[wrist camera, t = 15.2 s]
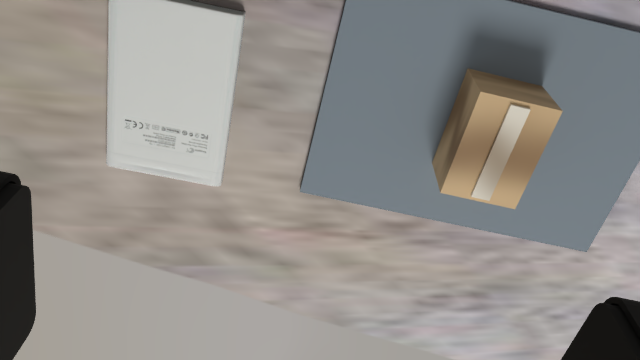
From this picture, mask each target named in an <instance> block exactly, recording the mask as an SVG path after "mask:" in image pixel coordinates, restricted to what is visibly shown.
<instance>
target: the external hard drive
mask: <svg viewBox="0 0 640 360" xmlns="http://www.w3.org/2000/svg"><path fill="white" fill-rule="evenodd" d="M244 20H245V12H242V11H237V10H232V9H228V8H223V7H218V6H213V5H209V4H204V3H199V2H195V1H190V0H109V4H108V85H107V162H106V163H107V165H108V166H110V167H114V168H119V169H125V170H130V171H136V172H141V173H147V174H152V175H157V176H163V177H168V178H173V179H178V180H184V181H189V182H194V183H199V184H204V185H209V186H221V183H222V181H223V174H224V166H225V160H226V153H227V145H228V138H229V131H230V124H231V117H232V110H233V102H234V95H235V87H236V80H237V73H238V65H239V58H240V50H241V43H242V36H243V28H244Z"/></svg>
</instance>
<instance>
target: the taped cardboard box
mask: <svg viewBox="0 0 640 360" xmlns="http://www.w3.org/2000/svg"><path fill="white" fill-rule="evenodd" d="M562 112H563V111H562V109H561V108H560V107H559V106H558V105H557V103H556V102H555V101H554V100H553V99H552V97H551V96H550V95H549V94H548V93H547V91H546V90H545V89H544V88H543V86H540V85H535V84H531V83H527V82H523V81H519V80H515V79H510V78H506V77H502V76H498V75H494V74H490V73H485V72H481V71H477V70H473V69H469V68H468V69H467V71H466V74H465V77H464V79H463V82H462V85H461V87H460V90H459V93H458V95H457V98H456V100H455V103H454V106H453V108H452V111H451V114H450V116H449V119H448V122H447V124H446V127H445V130H444V132H443V135H442V138H441V140H440V143H439V145H438V148H437V151H436V153H435V156H434V159H433V161H432V165H433V168H434V172H435V175H436V179H437V183H438V186H439V190H440V193H443V194H448V195H452V196H457V197H461V198H466V199H470V200H475V201H480V202H484V203H489V204H493V205H498V206H502V207H507V208H511V209H515V208H516V206H517V204H518V202H519V200H520V198H521V196H522V194H523V192H524V190H525V188H526V186H527V184H528V182H529V180H530V178H531V176H532V174H533V171H534V169H535V167H536V165H537V163H538V161H539V159H540V157H541V155H542V153H543V151H544V149H545V147H546V145H547V143H548V141H549V139H550V137H551V134H552V132H553V130H554V128H555V126H556V124H557V122H558V120H559V118H560V116H561V114H562Z"/></svg>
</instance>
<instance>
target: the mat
mask: <svg viewBox="0 0 640 360" xmlns="http://www.w3.org/2000/svg"><path fill="white" fill-rule="evenodd" d="M468 68H469V69H473V70H477V71H481V72H485V73H490V74H494V75H498V76H502V77H506V78H510V79H515V80H519V81H523V82H527V83H531V84H535V85H540V86H543V88H544V89H545V90H546V91H547V93H548V94H549V95H550V96H551V97H552V99H553V100H554V101H555V102H556V103H557V105H558V106H559V107H560V108H561V109H562V111H563V112H562V114H561V116H560V118H559V120H558V122H557V124H556V126H555V128H554V130H553V132H552V134H551V137H550V139H549V141H548V143H547V145H546V147H545V149H544V151H543V153H542V155H541V157H540V159H539V161H538V163H537V165H536V167H535V169H534V171H533V174H532V176H531V178H530V180H529V182H528V184H527V186H526V188H525V190H524V192H523V194H522V196H521V198H520V200H519V202H518V204H517V206H516V208H515V209H511V208H507V207H502V206H498V205H493V204H489V203H484V202H480V201H475V200H470V199H466V198H461V197H457V196H452V195H448V194H443V193H440V190H439V186H438V183H437V179H436V175H435V172H434V168H433V165H432V161H433V159H434V156H435V153H436V151H437V148H438V145H439V143H440V140H441V138H442V135H443V132H444V130H445V127H446V124H447V122H448V119H449V116H450V114H451V111H452V108H453V106H454V103H455V100H456V98H457V95H458V93H459V90H460V87H461V85H462V82H463V79H464V77H465V74H466V71H467V69H468ZM639 161H640V32H638V31H634V30H630V29H626V28H622V27H618V26H613V25H609V24H605V23H601V22H597V21H593V20H589V19H585V18H581V17H577V16H572V15H568V14H564V13H560V12H556V11H552V10H548V9H544V8H540V7H535V6H531V5H527V4H523V3H519V2H515V1H511V0H346V2H345V6H344V10H343V14H342V18H341V23H340V27H339V31H338V35H337V39H336V43H335V47H334V52H333V56H332V60H331V64H330V68H329V72H328V76H327V81H326V85H325V89H324V93H323V97H322V101H321V105H320V110H319V114H318V118H317V122H316V126H315V130H314V135H313V139H312V143H311V147H310V151H309V155H308V159H307V164H306V168H305V172H304V176H303V180H302V184H301V188H300V192H303V193H308V194H312V195H317V196H322V197H327V198H331V199H336V200H341V201H346V202H351V203H355V204H360V205H365V206H370V207H374V208H379V209H384V210H389V211H393V212H398V213H403V214H408V215H412V216H417V217H422V218H427V219H432V220H436V221H441V222H446V223H451V224H455V225H460V226H465V227H470V228H474V229H479V230H484V231H489V232H494V233H498V234H503V235H508V236H513V237H517V238H522V239H527V240H532V241H536V242H541V243H546V244H551V245H556V246H560V247H565V248H570V249H575V250H579V251H584V252H587V250H588V249H589V247H590V245H591V243H592V242H593V240H594V238H595V236H596V235H597V233H598V231H599V230H600V228H601V226H602V224H603V223H604V221H605V219H606V218H607V216H608V214H609V212H610V211H611V209H612V207H613V205H614V204H615V202H616V200H617V199H618V197H619V195H620V193H621V192H622V190H623V188H624V186H625V185H626V183H627V181H628V180H629V178H630V176H631V174H632V173H633V171H634V169H635V167H636V166H637V164H638V162H639Z"/></svg>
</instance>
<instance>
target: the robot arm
mask: <svg viewBox="0 0 640 360" xmlns="http://www.w3.org/2000/svg"><path fill="white" fill-rule="evenodd" d="M35 315H36V303H35V279H34V255H33V231H32V207H31V192H30V189H29V187H27V186H23V185H21V181H20V179H19V177H18V176H17V175H15V174H11V173H6V172H1V171H0V360H13V358H14V357H15V355H16V354H17V352H18V350H19V349H20V348H21V346H22V344H23V343H24V341H25V340H26V338H27V337H28V335H29V333H30V331H31V329H32V327H33V324H34V321H35ZM561 360H640V302H638V301H634V300H629V299H624V298H619V297H611V298H609V299H607V300H606V301H605V302H604V303H599V304H597V305H596V306H595V307H594V308H593V310H592V311H591V313H590V314H589V316H588V317H587V319H586V321H585V322H584V324H583V325H582V327H581V329H580V330H579V332H578V333H577V335H576V337H575V338H574V340H573V341H572V343H571V345H570V346H569V348H568V349H567V351H566V353H565V354H564V356H563V357H562V359H561Z"/></svg>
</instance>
